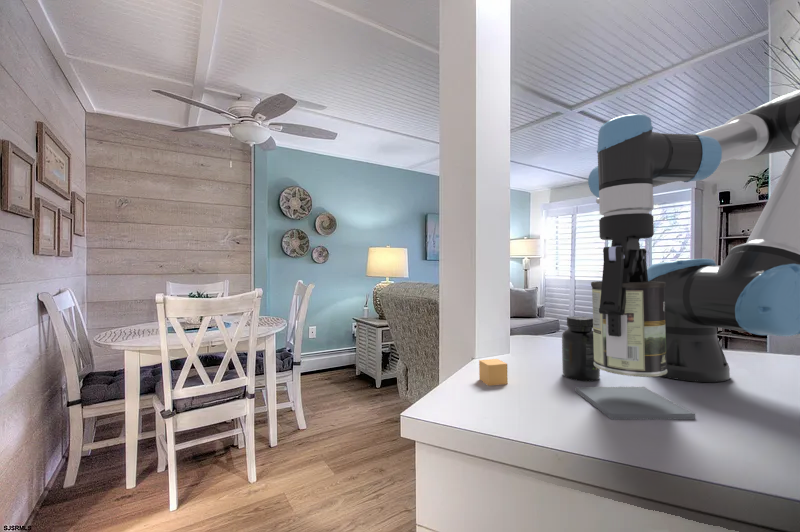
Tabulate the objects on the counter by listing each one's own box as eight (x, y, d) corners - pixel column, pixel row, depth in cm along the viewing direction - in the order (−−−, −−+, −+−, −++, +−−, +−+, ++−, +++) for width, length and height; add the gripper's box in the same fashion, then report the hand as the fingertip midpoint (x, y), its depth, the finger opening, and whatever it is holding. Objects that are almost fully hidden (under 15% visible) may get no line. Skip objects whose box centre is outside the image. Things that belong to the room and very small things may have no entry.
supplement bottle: (597, 373, 76) (596, 316, 76) (602, 383, 70) (600, 320, 70) (562, 370, 79) (561, 315, 79) (563, 379, 73) (562, 319, 73)
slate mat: (643, 391, 65) (643, 386, 65) (695, 419, 53) (695, 413, 53) (575, 391, 66) (575, 387, 66) (611, 419, 54) (611, 413, 54)
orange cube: (497, 378, 74) (497, 358, 74) (507, 384, 71) (507, 363, 71) (479, 380, 74) (479, 360, 74) (488, 386, 70) (488, 365, 70)
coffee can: (648, 361, 63) (647, 280, 63) (681, 379, 53) (679, 282, 53) (584, 359, 65) (583, 280, 66) (604, 376, 55) (603, 283, 55)
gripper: (621, 222, 70) (624, 338, 70) (573, 211, 55) (575, 359, 54) (669, 217, 64) (672, 343, 64) (630, 204, 49) (633, 369, 49)
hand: (628, 351), depth 59 cm, fingers closed on coffee can, 10 cm apart
